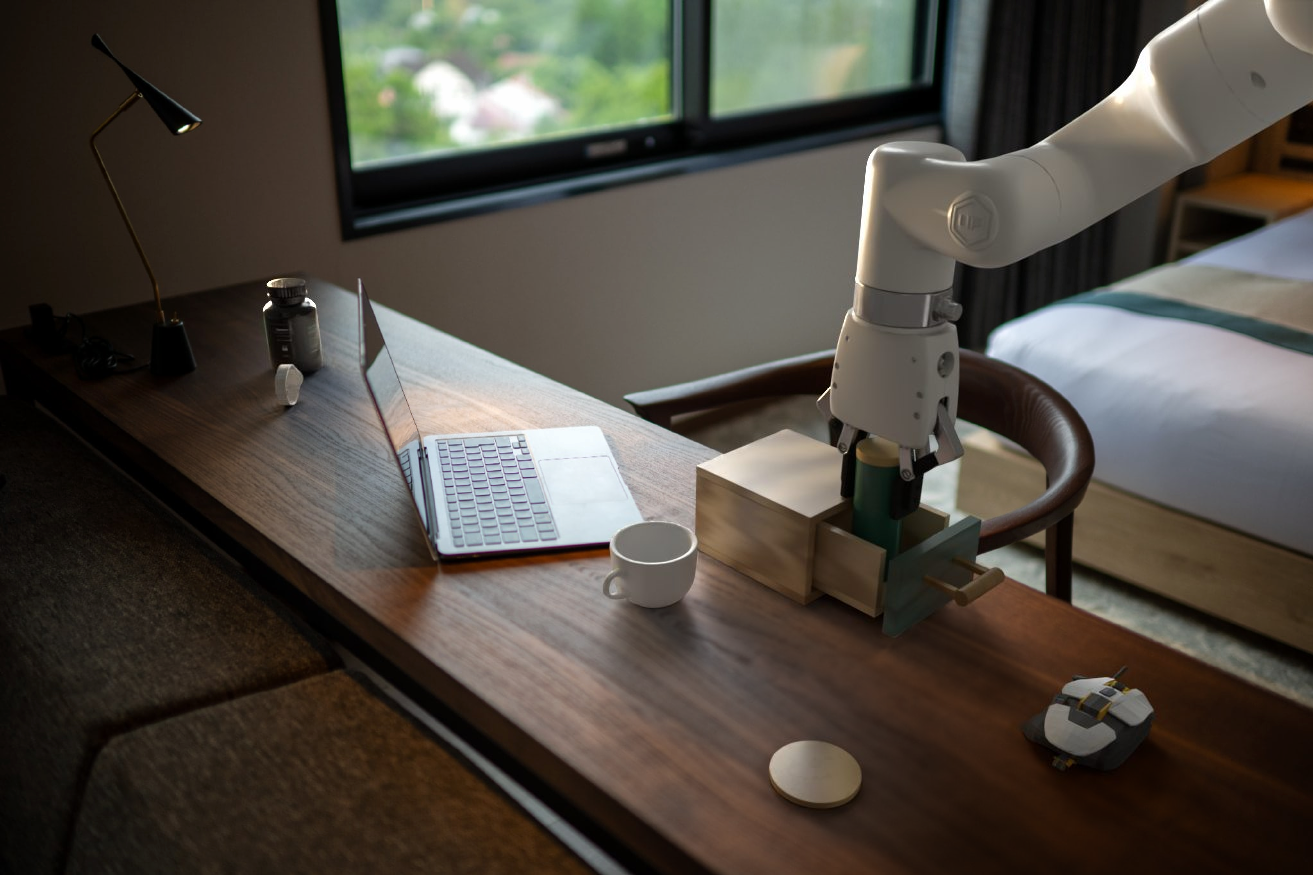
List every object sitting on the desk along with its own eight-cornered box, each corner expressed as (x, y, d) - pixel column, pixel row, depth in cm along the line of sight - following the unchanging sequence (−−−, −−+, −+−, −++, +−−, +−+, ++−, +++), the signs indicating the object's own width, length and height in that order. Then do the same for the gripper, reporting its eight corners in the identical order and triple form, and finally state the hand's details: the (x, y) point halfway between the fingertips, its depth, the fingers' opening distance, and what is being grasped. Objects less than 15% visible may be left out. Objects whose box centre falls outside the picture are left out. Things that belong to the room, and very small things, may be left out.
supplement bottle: (261, 373, 148) (248, 287, 143) (289, 357, 154) (278, 273, 149) (306, 379, 146) (294, 292, 141) (333, 362, 152) (322, 277, 147)
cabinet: (891, 556, 104) (900, 473, 101) (804, 606, 97) (810, 517, 93) (782, 506, 114) (787, 428, 110) (694, 547, 106) (696, 465, 102)
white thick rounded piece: (306, 396, 141) (301, 359, 139) (294, 411, 136) (289, 373, 134) (283, 396, 141) (278, 359, 139) (271, 411, 136) (265, 373, 134)
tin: (889, 555, 100) (900, 435, 96) (906, 581, 96) (918, 456, 91) (841, 559, 100) (849, 438, 95) (856, 585, 96) (865, 459, 91)
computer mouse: (1181, 704, 84) (1192, 660, 83) (1095, 801, 75) (1105, 754, 73) (1088, 663, 89) (1097, 621, 87) (996, 749, 80) (1004, 704, 78)
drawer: (1017, 608, 95) (1029, 538, 92) (940, 662, 87) (949, 588, 85) (858, 536, 106) (864, 471, 103) (778, 578, 99) (782, 510, 96)
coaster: (846, 742, 80) (846, 736, 80) (873, 804, 74) (873, 798, 74) (760, 749, 79) (760, 744, 79) (780, 812, 74) (781, 807, 73)
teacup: (652, 562, 103) (653, 512, 101) (714, 593, 98) (716, 540, 96) (574, 605, 97) (572, 552, 94) (636, 640, 92) (636, 584, 90)
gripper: (1021, 319, 84) (986, 526, 92) (847, 270, 96) (829, 459, 103) (966, 340, 80) (935, 556, 88) (790, 287, 91) (776, 482, 99)
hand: (878, 501), depth 95 cm, fingers closed on tin, 4 cm apart
